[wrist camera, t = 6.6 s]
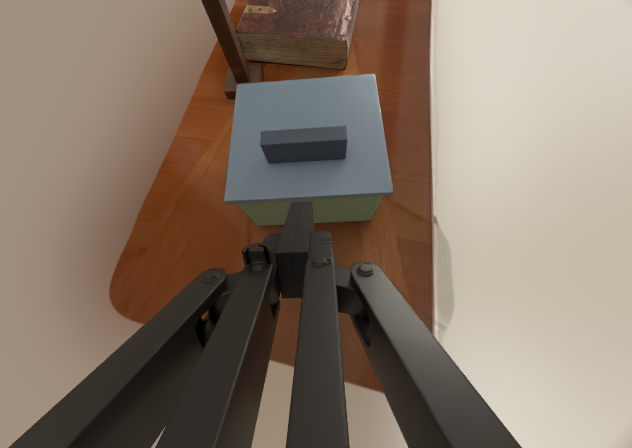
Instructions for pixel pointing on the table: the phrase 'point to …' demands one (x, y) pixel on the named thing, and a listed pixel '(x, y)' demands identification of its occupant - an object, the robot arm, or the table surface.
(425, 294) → the table surface
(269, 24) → the hardback book
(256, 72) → the stand
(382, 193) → the lid
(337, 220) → the bin
